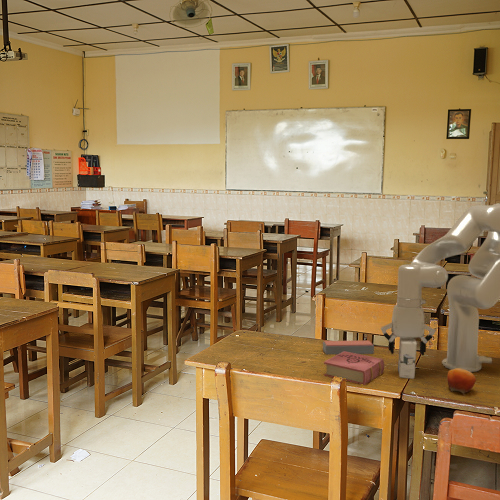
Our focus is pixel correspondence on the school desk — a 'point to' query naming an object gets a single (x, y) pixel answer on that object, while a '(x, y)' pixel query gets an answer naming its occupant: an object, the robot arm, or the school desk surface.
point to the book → (354, 367)
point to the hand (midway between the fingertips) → (406, 353)
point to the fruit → (460, 380)
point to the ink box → (407, 357)
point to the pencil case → (348, 347)
